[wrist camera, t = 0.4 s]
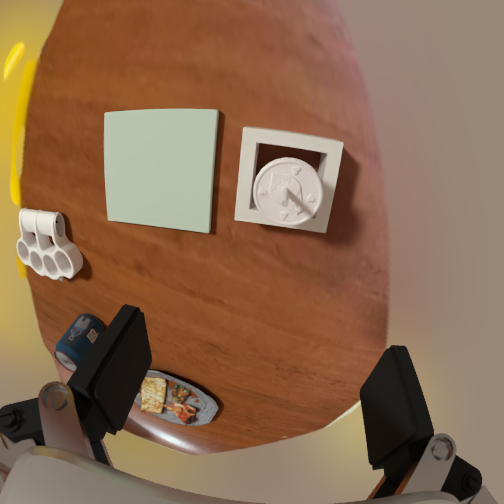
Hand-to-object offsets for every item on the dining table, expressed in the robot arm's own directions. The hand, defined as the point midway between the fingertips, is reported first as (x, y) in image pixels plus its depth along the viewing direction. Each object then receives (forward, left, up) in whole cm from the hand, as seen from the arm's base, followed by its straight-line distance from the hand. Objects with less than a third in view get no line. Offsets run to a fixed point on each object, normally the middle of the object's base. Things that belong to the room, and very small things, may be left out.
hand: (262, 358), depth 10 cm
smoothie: (-1, +1, -27) cm, 27 cm away
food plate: (+54, -18, -27) cm, 63 cm away
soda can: (+33, -34, -27) cm, 54 cm away
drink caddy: (-1, +1, -27) cm, 27 cm away
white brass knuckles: (+15, -41, -27) cm, 52 cm away
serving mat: (0, -16, -27) cm, 31 cm away
